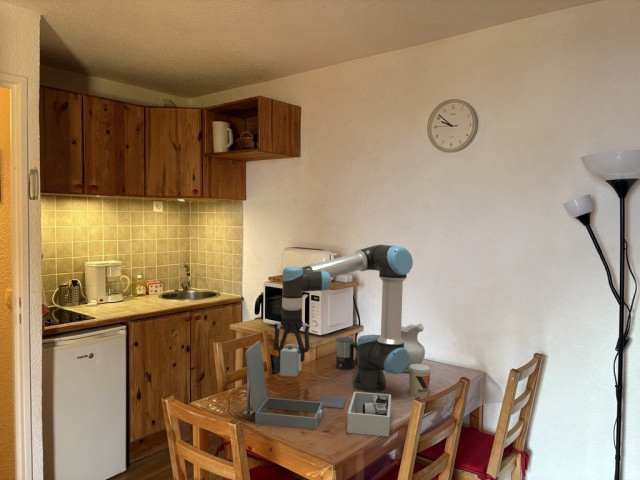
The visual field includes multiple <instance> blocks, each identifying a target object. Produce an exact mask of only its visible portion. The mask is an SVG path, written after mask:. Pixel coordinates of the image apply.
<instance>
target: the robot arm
mask: <svg viewBox="0 0 640 480" xmlns="http://www.w3.org/2000/svg"><path fill="white" fill-rule="evenodd" d="M413 262H414V260H413V256H412V254H411V253H410V251H409V249H407V248H405V247H403V246H399V245H388V244H387V245H385V244H376V245H372V246H368V247H365V248H361V249H357V250H356V251H355V252H354V253H352V254H348V255H344V256H339V257H337V258H336V257H335V258H333V259H329V260H324V261H322V262H317V263H313V264H310V265H305V266H301V267H300V266H287V267H284V268H283V271H282V278H281V280H282V292H281V293H282V294H281V295H282V297H281V298H282V299H281V300H282V301H281V302H282V303H281V308H282V310H281V321H280V322H276V323H274V325H273V328H274V336H273V337H274V338H273V339H274V340H273V350H274V351H277V352H278V355H277V356H278V358H277V359H278V361H280V351H281V350H282V349H283V348H284V347H285V344H286V340H287V337H288V335H289V334H294V337H295V338H296V342H297V344H298V345H299V349H300V352H299V354H298V371H299V372H301V371H302V368H303V362H304V361H305V356H306V355H305V353H308V352H309V351H310V328H311V325H310V324H306V323H304V322H303V309H302V308H303V293H305V292H319V291H320V292H322V291H325V290H326V291H327V290H328V289H330V288H331V285H332V278H335V277H340V276H343V275H346V274H349V273H353V272H357V271H359V272H366V271H378V278H379V279H381V281H382V283H381V284H382V286H381V287H382V288H381V289H382V290H381V320H380V321H381V322H380V323H381V324H380V334H365V335H360V336H359V337H358V338H357V343H358V344H357V346H358V348H357V351H356V352H357V365H356V366H357V367H356V371H355V373H354V376H353V379H352V386H353V388H355V389H358V390H360V391H365V392H380V391H383V390H385V389H386V388H387V380H386V376H385V373H384V372H386V373H387V374H388V373H389V374H392V375H397V374H398V375H399V374H401V373H403V371H404V369H405V368H406V367H407V365H408V363H409V353H408V352H407V350H406V349H405V348H404V340H403V339H402V338H401V326H402V313H403V312H402V311H403V289H404V288H403V285H404V281H405V280H406V279H407V278H408V277H407V274H409V273H410V272H411V270H412V268H413V264H414V263H413ZM281 327H282V328H283V333H282V337H281V341H280V330H281ZM301 329H303V332H304V334H303V335H304V341H303V339H302V334H301V331H300V330H301ZM279 341H280V342H279ZM303 342H304V343H303Z"/></svg>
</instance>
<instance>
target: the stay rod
mask: <svg viewBox="0 0 640 480" xmlns="http://www.w3.org/2000/svg"><path fill="white" fill-rule="evenodd" d="M246 376H247V379H246V383H247V384H246V387H247V388H246V391H247V392H246V409H245V410H244V411H243V412H242V415H241V416H244V417H245V416H246V417H252V416H253V415H254V414H255V412H253V410H251V395H250V388H249V380H248V372H247V375H246Z"/></svg>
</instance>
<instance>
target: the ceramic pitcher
mask: <svg viewBox="0 0 640 480" xmlns="http://www.w3.org/2000/svg"><path fill="white" fill-rule="evenodd" d="M424 330H425V329H424V325H423V323H418V324H409V325H406V326H403V325H401V338H402V339H403V340H404V348H405V349H406V350H407V352H408V353H409V363H408V365H407V367H406V368H405V369H404V371H402V373H403V372H405V373H408V372H409V367H410V365H411V364H422V362H423V361H424V358H425V357H426V356H425V355H426V354H425V353H426V350H425V347H424V345H423V344H422V343H420V342H419V340H418V336H419V333H421V332H423V331H424Z"/></svg>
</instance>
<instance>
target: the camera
mask: <svg viewBox="0 0 640 480" xmlns="http://www.w3.org/2000/svg"><path fill="white" fill-rule="evenodd" d="M387 406H388V399H386V398H385V397H384V396H380V395H374V396H373V403H363V411H362V414H372V415H383V416H387V413H386V409H387Z"/></svg>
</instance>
